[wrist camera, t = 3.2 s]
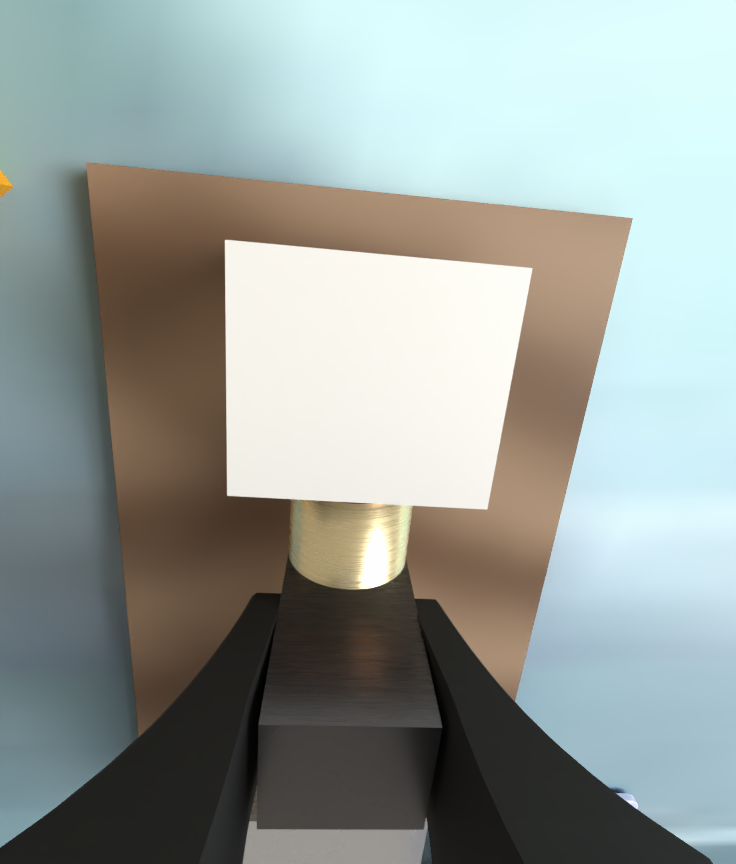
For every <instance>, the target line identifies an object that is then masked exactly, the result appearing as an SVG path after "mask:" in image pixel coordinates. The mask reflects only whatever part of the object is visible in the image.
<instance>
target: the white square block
mask: <svg viewBox="0 0 736 864" xmlns="http://www.w3.org/2000/svg"><path fill="white" fill-rule="evenodd" d="M532 269H533V268H526V267H515V266H504V265H494V264H483V263H472V262H461V261H450V260H440V259H429V258H418V257H407V256H396V255H385V254H375V253H364V252H353V251H342V250H331V249H321V248H310V247H299V246H288V245H277V244H267V243H256V242H245V241H234V240H225V312H226V427H227V496H241V497H259V498H278V499H297V500H316V501H335V502H353V503H372V504H391V505H410V506H429V507H447V508H466V509H485V510H487V509H488V503H489V498H490V493H491V487H492V482H493V477H494V471H495V466H496V461H497V455H498V450H499V445H500V439H501V434H502V429H503V423H504V418H505V413H506V407H507V402H508V397H509V391H510V386H511V381H512V375H513V370H514V365H515V359H516V354H517V349H518V343H519V338H520V333H521V327H522V322H523V317H524V311H525V306H526V301H527V295H528V290H529V285H530V279H531V274H532Z"/></svg>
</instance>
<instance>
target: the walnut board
mask: <svg viewBox="0 0 736 864" xmlns="http://www.w3.org/2000/svg"><path fill="white" fill-rule="evenodd" d="M86 167H87V178H88V189H89V199H90V210H91V221H92V232H93V243H94V254H95V265H96V276H97V287H98V298H99V309H100V320H101V331H102V342H103V353H104V364H105V375H106V386H107V397H108V408H109V418H110V429H111V440H112V451H113V462H114V473H115V484H116V495H117V506H118V517H119V528H120V539H121V550H122V561H123V572H124V583H125V594H126V605H127V616H128V626H129V637H130V648H131V659H132V670H133V681H134V692H135V703H136V714H137V725H138V736H140V735H141V734H142V733H143V732H144V731H145V730H147V729H148V728H149V727H150V726H151V725H152V724H153V723H154V722H155V721H156V720H157V719H158V717H159V716H160V715H161V714H162V713H163V712H164V711H165V710H166V709H167V708H168V707H169V706H170V705H171V704H172V703H173V702H174V701H175V700H176V698H177V697H178V696H179V695H180V694H181V693H182V692H183V691H184V690H185V688H186V687H187V686H188V685H189V684H190V682H191V681H192V680H193V679H194V678H195V676H196V675H197V674H198V673H199V672H200V670H201V669H202V668H203V667H204V666H205V664H206V663H207V662H208V661H209V659H210V658H211V657H212V655H213V654H214V653H215V651H216V650H217V649H218V647H219V646H220V645H221V643H222V642H223V641H224V639H225V638H226V636H227V635H228V634H229V632H230V631H231V629H232V628H233V626H234V625H235V623H236V622H237V620H238V619H239V617H240V616H241V614H242V612H243V611H244V609H245V607H246V606H247V604H248V602H249V600H250V598H251V597H252V596H253V595H254V594H255V593H280V594H281V592H282V586H283V581H284V575H285V569H286V563H287V558H288V552H289V532H290V507H291V499H278V498H259V497H241V496H227V427H226V312H225V240H234V241H245V242H256V243H267V244H277V245H288V246H299V247H310V248H321V249H331V250H342V251H353V252H364V253H375V254H385V255H396V256H407V257H418V258H429V259H440V260H450V261H461V262H472V263H483V264H494V265H504V266H515V267H526V268H533V269H532V274H531V279H530V285H529V290H528V295H527V301H526V306H525V311H524V317H523V322H522V327H521V333H520V338H519V343H518V349H517V354H516V359H515V365H514V370H513V375H512V381H511V386H510V391H509V397H508V402H507V407H506V413H505V418H504V423H503V429H502V434H501V439H500V445H499V450H498V455H497V461H496V466H495V471H494V477H493V482H492V487H491V493H490V498H489V503H488V509H487V510H485V509H466V508H447V507H429V506H413V508H412V516H411V523H410V531H409V539H408V546H407V554H406V560H407V565H408V570H409V574H410V579H411V584H412V588H413V593H414V598H415V599H436V600H437V602H438V603H439V604H440V605H441V607H442V608H443V610H444V611H445V613H446V614H447V616H448V617H449V619H450V620H451V622H452V623H453V624H454V626H455V627H456V629H457V630H458V632H459V633H460V634H461V636H462V637H463V639H464V640H465V641H466V643H467V644H468V645H469V647H470V648H471V649H472V651H473V652H474V653H475V655H476V656H477V657H478V658H479V660H480V661H481V662H482V664H483V665H484V666H485V667H486V669H487V670H488V671H489V672H490V674H491V675H492V676H493V677H494V678H495V680H496V681H497V682H498V683H499V684H500V686H501V687H502V688H503V689H504V690H505V691H506V692H507V694H508V695H509V696H510V697H511V698H512V699H513V700H514V702H515V699H516V695H517V691H518V686H519V682H520V678H521V674H522V670H523V666H524V662H525V658H526V654H527V649H528V645H529V641H530V637H531V633H532V629H533V625H534V621H535V617H536V613H537V608H538V604H539V600H540V596H541V592H542V588H543V584H544V580H545V576H546V572H547V567H548V563H549V559H550V555H551V551H552V547H553V543H554V539H555V535H556V530H557V526H558V522H559V518H560V514H561V510H562V506H563V502H564V498H565V494H566V489H567V485H568V481H569V477H570V473H571V469H572V465H573V461H574V457H575V453H576V448H577V444H578V440H579V436H580V432H581V428H582V424H583V420H584V416H585V411H586V407H587V403H588V399H589V395H590V391H591V387H592V383H593V379H594V375H595V370H596V366H597V362H598V358H599V354H600V350H601V346H602V342H603V338H604V334H605V329H606V325H607V321H608V317H609V313H610V309H611V305H612V301H613V297H614V292H615V288H616V284H617V280H618V276H619V272H620V268H621V264H622V260H623V256H624V251H625V247H626V243H627V239H628V235H629V231H630V227H631V223H632V219H633V218H625V217H615V216H605V215H595V214H585V213H576V212H566V211H556V210H546V209H537V208H527V207H517V206H507V205H497V204H488V203H478V202H468V201H458V200H449V199H439V198H429V197H419V196H409V195H400V194H390V193H380V192H370V191H361V190H351V189H341V188H331V187H321V186H312V185H302V184H292V183H282V182H273V181H263V180H253V179H243V178H233V177H224V176H214V175H204V174H194V173H185V172H175V171H165V170H155V169H145V168H136V167H126V166H116V165H106V164H97V163H87V162H86Z"/></svg>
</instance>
